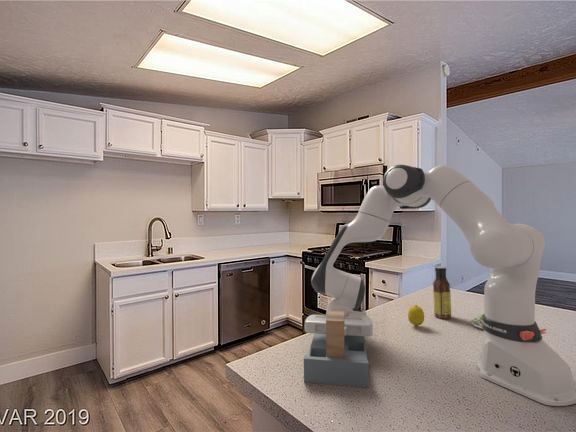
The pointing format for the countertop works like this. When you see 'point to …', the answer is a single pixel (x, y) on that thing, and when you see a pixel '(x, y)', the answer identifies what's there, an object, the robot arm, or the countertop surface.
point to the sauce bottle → (441, 294)
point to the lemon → (416, 315)
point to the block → (335, 335)
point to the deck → (337, 363)
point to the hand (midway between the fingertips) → (337, 335)
